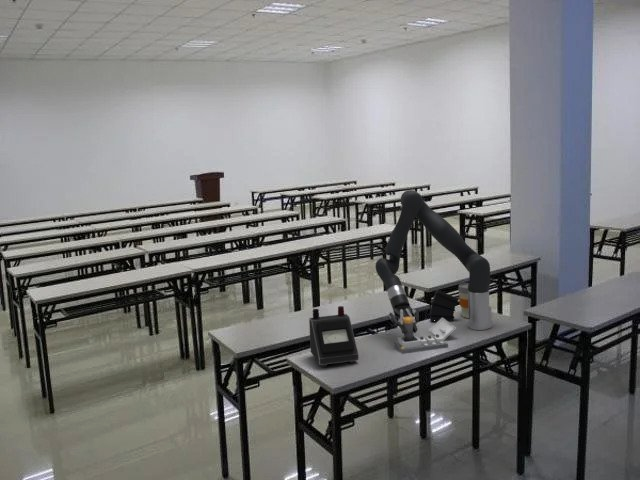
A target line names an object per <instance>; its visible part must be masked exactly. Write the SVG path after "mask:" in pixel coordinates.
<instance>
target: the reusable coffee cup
mask: <svg viewBox="0 0 640 480" xmlns="http://www.w3.org/2000/svg"><path fill="white" fill-rule="evenodd" d="M468 284H469V282H464V283H463V282H462V283H460V284H458V290H457V291H458V294H459V296H458V302H459V306H460V307H461V313H462V317H463V318H466V319H469V308H468Z"/></svg>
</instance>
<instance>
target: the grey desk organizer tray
mask: <svg viewBox="0 0 640 480" xmlns="http://www.w3.org/2000/svg"><path fill="white" fill-rule="evenodd" d="M394 347H395V348H396V349H397V350H398V351H399V352H400V353H401V354H409V353H415V352H423V351H431V350H438V349H444V348H445V349H446V348H448V347H449V344H448V343H447V342H446V341H445V340H443V338H441V337H440V336H439V335H438V334H436V335H435V336H433V337H432V336H431V334H430V335H427V337H424V336H423V335H422V336H420V338H419V337H418V336H416V334H414V341H410V342H405V341H404V336H399V337H397V341H396V342H394Z"/></svg>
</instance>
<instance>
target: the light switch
mask: <svg viewBox="0 0 640 480" xmlns="http://www.w3.org/2000/svg"><path fill="white" fill-rule="evenodd" d="M456 329H457V327H456V326H455V325H453V324H452V323H451V322H450V321H447V320H445V319H444V318H441V319H440V320H439V321H438V322H435V324H433V326H431V328H430V329H428V331H429V332H430V333H431V334H433V335H434V336H436V334H438V335H439V336H440V337H441V338H443V340H444V341H445V340H446V339H447V338H448V337H449V336H450V335H451V334H452V333H453V332H454V331H455V330H456Z"/></svg>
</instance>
